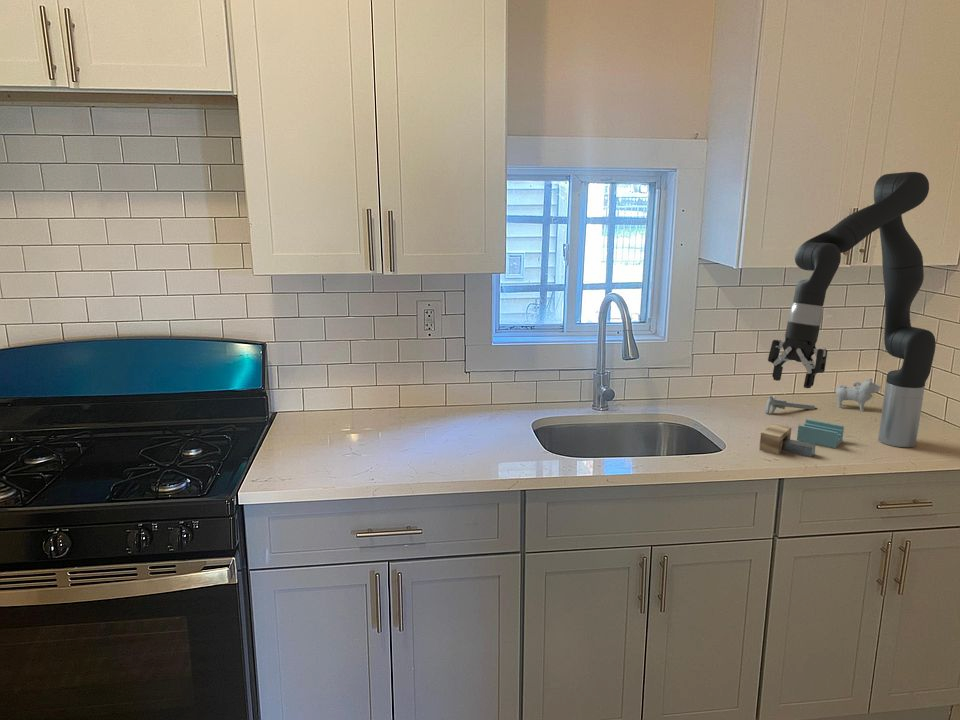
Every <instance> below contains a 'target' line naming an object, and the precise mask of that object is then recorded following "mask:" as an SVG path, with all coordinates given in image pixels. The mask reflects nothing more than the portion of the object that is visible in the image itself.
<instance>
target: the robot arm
mask: <svg viewBox="0 0 960 720" xmlns="http://www.w3.org/2000/svg"><path fill="white" fill-rule="evenodd" d="M929 192H930V181H929V180H928V177H927V176H926V175H925V174H924V173H922V172H918V171H906V172H895V173H894V172H893V173H886V174H883V175H881V176H880V177H879V178H878V179H877V180H876V182H875V184H874V189H873V201H874V203H872V204H870V205H868V206H866V207H864V208H861V209H859V210H857V211H854V212H853V213H850V214H849V215H848V216H846V217H844V218H843V219H842V220H840V221H839V222H838V223H836V224H835V225H833V227H832V228H830V229H829V230H826V231H823V232H822V233H820V234H817V235H815V236H813V237H812V238H809V239H808V240H806V241H804V242H803V243H802V244H801V245H800V246H799V247H798V248H797V250H796V251H795V255H794V261H795V265H796V266H797V268H799V269H801V270H804V271H811V272H812V273H811V275H810V277H809V278H807V279H803V280H800V281H798V282H797V284H796V286H795V290H794V295H793V300H792V304H791V307H790V309H789V314H788V320H787V325H786V329H785V335H784V341H782V340H781V339H773V340H772V342H771V346H770V349H769V354H768V357H767V362H769V363H771V364H773V370H772V376H771V377H772V379H773V381H777V382H778V381H781V379H782V374H783V369H784V364H785V363H786V362H789V361H796V362H798V363H802V365H803V367H804V368H805V370H806V372H807V373H805V377H804V383H803V388H804V389H811V387H813V386H814V385H815V384H814V383H815V379H816V376H817V375H818V374H824V372H825V370H826V363H827V359H828V349H827V348H817V347H816V344H817V342H818V337H819V332H820V329H821V324H822V320H823V314H824V313H823V310H824V309H823V308H824V305H825V300H826V294H827V290H828V288H829V286H830V284H831V282H832V281H833V279H834V277H835V275H836V273H837V271H838V269H839V266H840V264H841V260H842V255H841V254H844V253H846V252H848V251H850V250H851V249H853V248H854V247H855V246H856V245H858V244H859V243H861V242H862V241H863V240H864V239H865V238H867V237H869V235H871V234H872V233H874V232H875V231H877V230H878V229H879V236H880V237H879V238H880V246H881V256H882V258H881V259H882V263H881V264H882V276H883V279H882V280H883V285H884V286H883V287H884V307H885V308H884V309H885V313H884V315H885V316H884V333H883V335H884V339H883V340H884V348H885V351H886V352H887V354H889V355H890V356H892V357H894V358H897V359H901V360H903V361H902V365H901V368H900V369H895V370H890V371H888V372H887V374H886V379H885V380H886V381H885V388H884V395H883V402H882V409H881V416H880V421H879V422H880V423H879V430H878V436H877V437H878V438H877V440H878V441H879V442H880V443H882V444H886V445H888V446H893V447H899V448H912V447H915V446H916V445H917V439H918V433H919V427H920V420H921V415H922V414H921V413H922V407H923V400H924V392H925V388H926V381H927V380H928V379H929V376H930V374H931V371H932V367H933V361H934V358H935V357H934V356H935V353H936V352H935V351H936V338H935V335H934V334H933V332H932V331H930V330H928V329H924V328H919V327H915V326H912V324H911V306H912V303H913V301H914V299H915V298H916V296H917V294H918V293H919V291H920V289H921V287H922V286H923V283H924V279H925V275H924V274H925V271H924V260H923V259H924V257H923V254H922V251H921V250H920V248H919V246H918V244H917V243H916V242H915V241H914V239H913V238H912V236H911V235H910V233H909V232H908V230H907V229H906V227H905V224H904V222H903V214H906V213H908V212H909V211H911V210H913V209H915V208H917V207H919V206H920V205H921V204H922V203H924V201H925V200H926V199H927V197H928V195H929ZM781 349H783V351H782V353H780V352H781ZM813 355H814V356H815V357H816V359H815V360H814V358H813Z"/></svg>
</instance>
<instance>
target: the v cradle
mask: <svg viewBox="0 0 960 720" xmlns="http://www.w3.org/2000/svg"><path fill="white" fill-rule="evenodd" d="M844 430H845V426H844V425H840V424H835V423H829V422H825V421H820V420H819V421H818V420H814V419H809V418H806V419H805V423H804V425H803V424H799V425H798V427H797V436H796V441H797V440H799V441H800V442H802V441H803V442H804V443H807V442H808V443H809V444H812V443H813V444H814V445H816V444H819V445H818V446H821V445H824V446H823V447H826V446H828V447H827V448H831V447H832V449H836V448H837V447H838V446H839V445H840V444H841V443H842V442H843V438H844ZM841 441H842V442H841ZM840 442H841V443H840ZM839 443H840V444H839ZM838 444H839V445H838ZM837 445H838V446H837ZM836 446H837V447H836Z"/></svg>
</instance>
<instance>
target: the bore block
mask: <svg viewBox="0 0 960 720" xmlns="http://www.w3.org/2000/svg"><path fill="white" fill-rule="evenodd" d="M791 434H792V427H789V426H786V425H785V426H784V425H780V424H774V423H773V424H771V425H770V426H768V427H766V428H765V429H764V430H763V431H761V432H760V438H759V451H762V450H763V452H766V451H767V453H772V454H775V453H776V455H779V454H781V452H783V451H782V442H783V438H786V439H790V440H791Z"/></svg>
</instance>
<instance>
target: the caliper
mask: <svg viewBox="0 0 960 720" xmlns="http://www.w3.org/2000/svg"><path fill="white" fill-rule="evenodd" d="M777 408H778V409H783V410H785V408H794V409H802V410H810V409H811V410H815V408H817V409H818V407H816V405H813V404H806V403H801V402H800V403H799V402H798V403H797V402H790V401H789V402H788V401H787V400H782V399H777V398H776V396H775V395H769V398H767V401H766V403H765V411H764V413H765V414H766V413H767V415H769V414H770V413H772V414H771V415H774V414H775V411H776V410H777Z"/></svg>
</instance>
